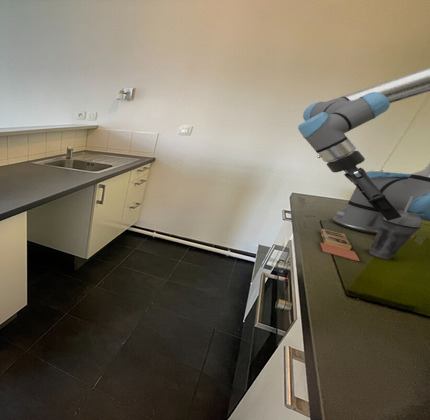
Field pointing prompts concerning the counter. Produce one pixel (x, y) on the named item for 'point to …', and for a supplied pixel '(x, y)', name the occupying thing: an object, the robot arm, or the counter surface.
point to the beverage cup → (395, 233)
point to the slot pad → (339, 251)
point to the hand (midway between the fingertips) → (387, 212)
